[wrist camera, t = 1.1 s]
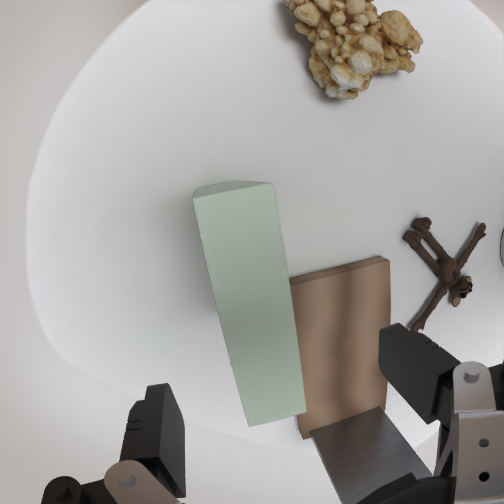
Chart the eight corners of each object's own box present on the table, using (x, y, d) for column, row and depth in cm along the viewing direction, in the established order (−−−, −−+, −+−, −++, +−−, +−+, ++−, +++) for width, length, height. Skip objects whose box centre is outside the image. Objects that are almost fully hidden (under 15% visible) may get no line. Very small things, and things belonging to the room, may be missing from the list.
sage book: (234, 180, 29) (273, 182, 13) (258, 308, 32) (306, 411, 17) (197, 188, 28) (192, 198, 13) (225, 316, 32) (248, 427, 16)
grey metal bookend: (379, 405, 36) (432, 474, 23) (378, 410, 36) (430, 479, 23) (309, 430, 35) (348, 513, 22) (310, 435, 35) (348, 517, 22)
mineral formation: (320, 114, 28) (241, -4, 23) (395, 75, 31) (331, -24, 26) (372, 97, 21) (272, -49, 16) (444, 60, 23) (370, -54, 18)
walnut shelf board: (379, 255, 33) (389, 260, 31) (378, 402, 39) (384, 410, 37) (276, 281, 32) (281, 288, 30) (299, 430, 37) (303, 439, 35)
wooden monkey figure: (459, 170, 29) (509, 248, 32) (438, 171, 34) (489, 243, 36) (372, 296, 31) (438, 357, 33) (356, 285, 35) (421, 344, 38)
